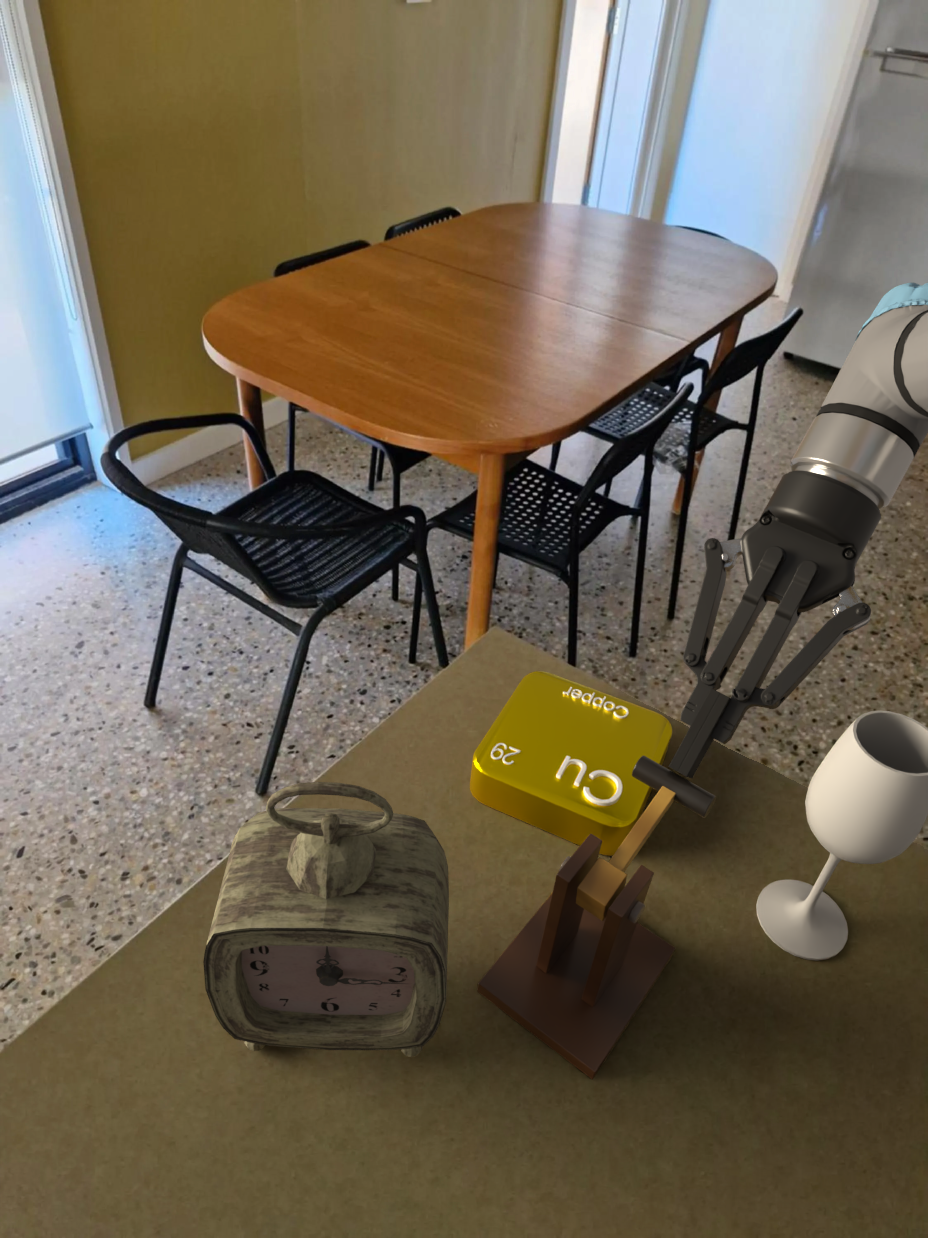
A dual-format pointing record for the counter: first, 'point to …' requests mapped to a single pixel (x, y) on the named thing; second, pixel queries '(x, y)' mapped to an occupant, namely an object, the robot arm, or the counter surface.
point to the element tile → (569, 760)
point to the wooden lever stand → (579, 966)
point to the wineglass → (852, 825)
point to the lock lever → (639, 834)
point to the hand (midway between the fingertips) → (680, 772)
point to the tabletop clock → (331, 928)
